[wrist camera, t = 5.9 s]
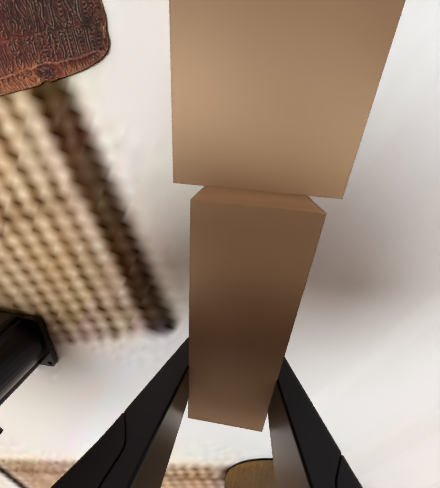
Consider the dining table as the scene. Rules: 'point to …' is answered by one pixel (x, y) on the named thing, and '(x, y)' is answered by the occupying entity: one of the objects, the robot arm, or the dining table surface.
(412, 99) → the dining table surface
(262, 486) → the wooden container
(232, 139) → the tan paddle
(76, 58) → the wooden tablet
